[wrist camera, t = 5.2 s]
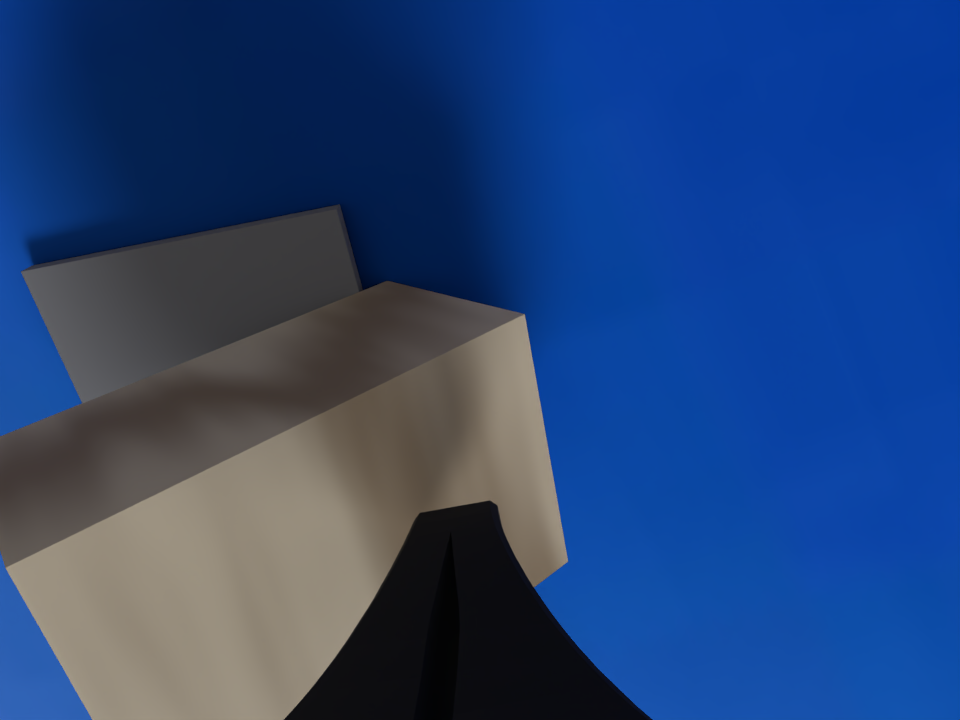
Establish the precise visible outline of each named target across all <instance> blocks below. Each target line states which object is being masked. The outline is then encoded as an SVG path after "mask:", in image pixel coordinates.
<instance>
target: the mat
mask: <svg viewBox="0 0 960 720" xmlns="http://www.w3.org/2000/svg"><path fill="white" fill-rule="evenodd" d="M21 273H22V275H23V277H24V279H25V281H26V284H27V286H28V288H29V290H30V292H31V294H32V296H33V299H34V301H35V303H36V305H37V307H38V309H39V311H40V314H41V316H42V318H43V320H44V322H45V324H46V326H47V329H48V331H49V333H50V335H51V337H52V339H53V341H54V344H55V346H56V348H57V350H58V352H59V354H60V356H61V359H62V361H63V363H64V365H65V367H66V369H67V371H68V374H69V376H70V378H71V380H72V382H73V384H74V386H75V389H76V391H77V393H78V395H79V397H80V399H81V401H82V403H85V402H87V401H90V400H92V399H95V398H97V397H100V396H102V395H105V394H107V393H110V392H112V391H115V390H117V389H120V388H122V387H125V386H127V385H130V384H132V383H134V382H137V381H139V380H142V379H144V378H147V377H149V376H152V375H154V374H157V373H159V372H162V371H164V370H167V369H169V368H172V367H174V366H177V365H179V364H182V363H184V362H187V361H189V360H192V359H194V358H197V357H199V356H202V355H204V354H207V353H209V352H211V351H214V350H216V349H219V348H221V347H224V346H226V345H229V344H231V343H234V342H236V341H239V340H241V339H244V338H246V337H249V336H251V335H254V334H256V333H259V332H261V331H264V330H266V329H269V328H271V327H274V326H276V325H279V324H281V323H284V322H286V321H289V320H291V319H293V318H296V317H298V316H301V315H303V314H306V313H308V312H311V311H313V310H316V309H318V308H321V307H323V306H326V305H328V304H331V303H333V302H336V301H338V300H341V299H343V298H346V297H348V296H351V295H353V294H356V293H358V292H361V291H363V289H362V285H361V281H360V277H359V274H358V270H357V266H356V263H355V259H354V255H353V251H352V248H351V244H350V240H349V237H348V233H347V229H346V225H345V222H344V218H343V214H342V211H341V207H340V204H339V205H334V206H329V207H324V208H319V209H314V210H309V211H304V212H299V213H294V214H289V215H284V216H279V217H274V218H269V219H264V220H259V221H254V222H249V223H244V224H239V225H234V226H229V227H224V228H219V229H214V230H209V231H204V232H199V233H194V234H189V235H184V236H178V237H173V238H168V239H163V240H158V241H153V242H148V243H143V244H138V245H133V246H128V247H123V248H118V249H113V250H108V251H103V252H98V253H93V254H88V255H83V256H78V257H73V258H68V259H63V260H58V261H53V262H48V263H43V264H38V265H33V266H31V267H29V268H27V269H25V270H23V271H21Z"/></svg>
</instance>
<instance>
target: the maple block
mask: <svg viewBox="0 0 960 720" xmlns="http://www.w3.org/2000/svg"><path fill="white" fill-rule="evenodd" d="M489 500H490V501H492V502H493V503H495V504H496V505H498V510H499V515H500V519H501V524H502V528H503V531H504V533H505V536H506V538H507V540H508V542H509V545H510V547H511V549H512V551H513V553H514V555H515V557H516V558H517V560H518V562H519V564H520V565H521V567H522V569H523V571H524V572H525V574H526V576H527V578H528V579H529V581H530V582H531V584H532V586H533V587H535V586H536V585H538V584H539V583H540V582H542V581H543V580H544V579H546V578H547V577H548V576H550V575H551V574H552V573H553V572H555V571H556V570H557V569H559V568H560V567H561V566H563V565H564V564H565V563H567V562H568V559H567V553H566V547H565V542H564V536H563V530H562V525H561V519H560V513H559V507H558V502H557V496H556V490H555V485H554V479H553V473H552V468H551V462H550V456H549V450H548V445H547V439H546V433H545V428H544V422H543V416H542V410H541V405H540V399H539V393H538V388H537V382H536V376H535V371H534V365H533V359H532V353H531V348H530V342H529V336H528V331H527V325H526V319H525V314H522V313H518V312H514V311H510V310H505V309H501V308H497V307H493V306H489V305H485V304H481V303H477V302H473V301H468V300H464V299H460V298H456V297H452V296H448V295H444V294H440V293H436V292H432V291H427V290H423V289H419V288H415V287H411V286H407V285H403V284H399V283H395V282H390V281H385V282H383V283H380V284H378V285H375V286H373V287H370V288H368V289H366V290H363V291H361V292H358V293H356V294H353V295H351V296H348V297H346V298H343V299H341V300H338V301H336V302H333V303H331V304H328V305H326V306H323V307H321V308H318V309H316V310H313V311H311V312H308V313H306V314H303V315H301V316H298V317H296V318H293V319H291V320H289V321H286V322H284V323H281V324H279V325H276V326H274V327H271V328H269V329H266V330H264V331H261V332H259V333H256V334H254V335H251V336H249V337H246V338H244V339H241V340H239V341H236V342H234V343H231V344H229V345H226V346H224V347H221V348H219V349H216V350H214V351H211V352H209V353H207V354H204V355H202V356H199V357H197V358H194V359H192V360H189V361H187V362H184V363H182V364H179V365H177V366H174V367H172V368H169V369H167V370H164V371H162V372H159V373H157V374H154V375H152V376H149V377H147V378H144V379H142V380H139V381H137V382H134V383H132V384H130V385H127V386H125V387H122V388H120V389H117V390H115V391H112V392H110V393H107V394H105V395H102V396H100V397H97V398H95V399H92V400H90V401H87V402H85V403H82V404H80V405H77V406H75V407H72V408H70V409H67V410H65V411H62V412H60V413H57V414H55V415H53V416H50V417H48V418H45V419H43V420H40V421H38V422H35V423H33V424H30V425H28V426H25V427H23V428H20V429H18V430H15V431H13V432H10V433H8V434H5V435H3V436H0V551H1V554H2V558H3V561H4V564H5V568H6V570H7V571H8V573H9V575H10V577H11V578H12V580H13V582H14V584H15V585H16V587H17V589H18V591H19V592H20V594H21V596H22V597H23V599H24V601H25V603H26V604H27V606H28V608H29V610H30V611H31V613H32V615H33V617H34V618H35V620H36V622H37V624H38V625H39V627H40V629H41V631H42V632H43V634H44V636H45V638H46V639H47V641H48V643H49V645H50V646H51V648H52V650H53V652H54V653H55V655H56V657H57V659H58V660H59V662H60V664H61V666H62V667H63V669H64V671H65V673H66V674H67V676H68V678H69V680H70V681H71V683H72V685H73V687H74V688H75V690H76V692H77V693H78V695H79V697H80V699H81V700H82V702H83V704H84V706H85V707H86V709H87V711H88V713H89V714H90V716H91V718H92V720H284V719H285V718H286V717H287V715H288V714H289V713H290V712H291V711H292V710H293V709H294V708H295V707H296V706H297V704H298V703H299V702H300V701H301V700H302V699H303V697H304V696H305V695H306V694H307V693H308V692H309V690H310V689H311V688H312V687H313V685H314V684H315V683H316V682H317V680H318V679H319V678H320V676H321V675H322V674H323V673H324V671H325V670H326V669H327V667H328V666H329V665H330V663H331V662H332V661H333V659H334V658H335V657H336V655H337V654H338V652H339V651H340V650H341V648H342V647H343V645H344V644H345V642H346V641H347V640H348V638H349V636H350V635H351V633H352V632H353V630H354V629H355V627H356V626H357V624H358V623H359V621H360V619H361V618H362V616H363V615H364V613H365V612H366V610H367V609H368V607H369V605H370V604H371V602H372V600H373V599H374V597H375V595H376V593H377V592H378V590H379V588H380V586H381V585H382V583H383V581H384V579H385V577H386V576H387V574H388V572H389V570H390V569H391V567H392V565H393V563H394V561H395V559H396V557H397V555H398V553H399V551H400V549H401V547H402V545H403V543H404V541H405V539H406V537H407V535H408V533H409V531H410V529H411V526H412V524H413V522H414V520H415V518H416V517H417V516H418V514H419V513H421V512H427V511H433V510H438V509H444V508H450V507H455V506H461V505H467V504H472V503H478V502H484V501H489Z"/></svg>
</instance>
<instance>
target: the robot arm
mask: <svg viewBox="0 0 960 720" xmlns="http://www.w3.org/2000/svg"><path fill="white" fill-rule="evenodd" d="M284 720H652V719H651V718H650V717H649V716H648V715H646V714H645V713H644V712H643V711H642V710H640V709H639V708H638V707H637V706H636V705H635V704H634V703H633V702H632V701H631V700H630V699H629V698H628V697H627V696H626V695H624V694H623V693H622V692H621V691H620V690H619V689H618V688H617V687H616V686H615V685H614V684H613V683H612V682H611V681H610V680H609V679H608V678H607V677H606V676H605V675H604V674H603V673H602V672H601V671H600V670H599V669H598V668H597V667H596V666H595V665H594V664H593V663H592V662H591V661H590V659H589V658H588V657H587V656H586V655H585V654H584V653H583V652H582V651H581V650H580V648H579V647H578V646H577V645H576V644H575V642H574V641H573V640H572V639H571V638H570V636H569V635H568V634H567V633H566V632H565V630H564V629H563V628H562V627H561V625H560V624H559V623H558V621H557V620H556V619H555V617H554V616H553V615H552V613H551V612H550V611H549V609H548V608H547V606H546V605H545V604H544V602H543V601H542V599H541V598H540V596H539V595H538V593H537V592H536V590H535V589H534V587H533V586H532V584H531V582H530V581H529V579H528V578H527V576H526V574H525V572H524V571H523V569H522V567H521V565H520V564H519V562H518V560H517V558H516V557H515V555H514V553H513V551H512V549H511V547H510V545H509V542H508V540H507V538H506V536H505V533H504V531H503V528H502V524H501V519H500V515H499V510H498V505H496V504H495V503H493V502H492V501H490V500H489V501H484V502H478V503H472V504H467V505H461V506H455V507H450V508H444V509H438V510H433V511H427V512H421V513H419V514H418V516H417V517H416V518H415V520H414V522H413V524H412V526H411V529H410V531H409V533H408V535H407V537H406V539H405V541H404V543H403V545H402V547H401V549H400V551H399V553H398V555H397V557H396V559H395V561H394V563H393V565H392V567H391V569H390V570H389V572H388V574H387V576H386V577H385V579H384V581H383V583H382V585H381V586H380V588H379V590H378V592H377V593H376V595H375V597H374V599H373V600H372V602H371V604H370V605H369V607H368V609H367V610H366V612H365V613H364V615H363V616H362V618H361V619H360V621H359V623H358V624H357V626H356V627H355V629H354V630H353V632H352V633H351V635H350V636H349V638H348V640H347V641H346V642H345V644H344V645H343V647H342V648H341V650H340V651H339V652H338V654H337V655H336V657H335V658H334V659H333V661H332V662H331V663H330V665H329V666H328V667H327V669H326V670H325V671H324V673H323V674H322V675H321V676H320V678H319V679H318V680H317V682H316V683H315V684H314V685H313V687H312V688H311V689H310V690H309V692H308V693H307V694H306V695H305V696H304V697H303V699H302V700H301V701H300V702H299V703H298V704H297V706H296V707H295V708H294V709H293V710H292V711H291V712H290V713H289V714H288V715H287V717H286V718H285V719H284Z"/></svg>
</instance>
